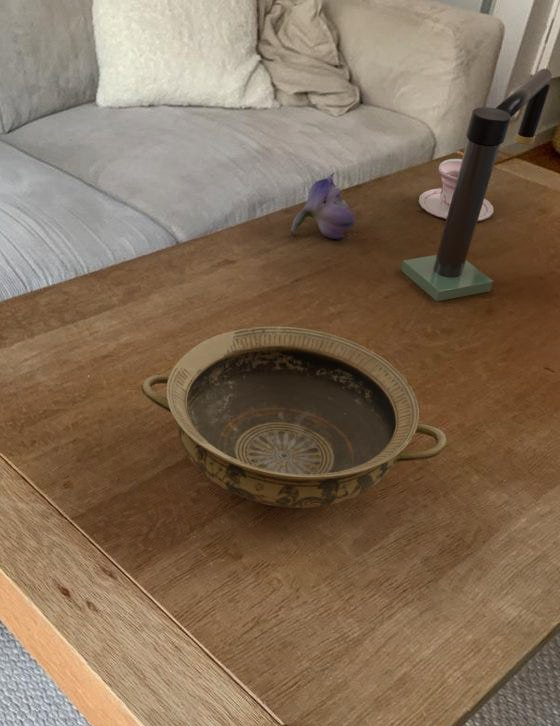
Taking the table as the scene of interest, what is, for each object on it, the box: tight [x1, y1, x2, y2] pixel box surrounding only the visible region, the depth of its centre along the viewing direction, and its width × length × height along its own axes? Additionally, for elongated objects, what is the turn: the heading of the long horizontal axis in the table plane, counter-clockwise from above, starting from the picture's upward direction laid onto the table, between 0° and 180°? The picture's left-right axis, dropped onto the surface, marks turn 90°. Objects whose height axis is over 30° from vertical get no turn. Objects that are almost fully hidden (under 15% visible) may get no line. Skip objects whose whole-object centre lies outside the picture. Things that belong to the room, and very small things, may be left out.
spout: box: [465, 68, 553, 146], centre depth 111 cm, size 29×5×11 cm, turn 147°
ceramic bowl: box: [141, 325, 448, 509], centre depth 81 cm, size 30×24×10 cm
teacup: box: [418, 158, 494, 222], centre depth 132 cm, size 12×12×6 cm
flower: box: [290, 172, 356, 241], centre depth 122 cm, size 9×9×10 cm
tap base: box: [400, 138, 501, 302], centre depth 109 cm, size 9×9×20 cm
